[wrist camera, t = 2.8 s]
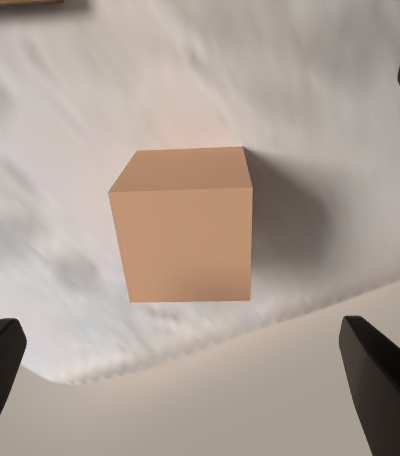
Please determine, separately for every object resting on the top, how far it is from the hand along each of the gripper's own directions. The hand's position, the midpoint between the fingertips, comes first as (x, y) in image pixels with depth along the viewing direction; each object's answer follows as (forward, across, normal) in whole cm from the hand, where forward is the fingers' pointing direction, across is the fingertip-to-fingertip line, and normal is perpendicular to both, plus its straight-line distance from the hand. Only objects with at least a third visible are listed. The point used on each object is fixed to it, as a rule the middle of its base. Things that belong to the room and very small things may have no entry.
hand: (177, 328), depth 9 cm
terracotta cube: (+9, 0, 0) cm, 9 cm away
